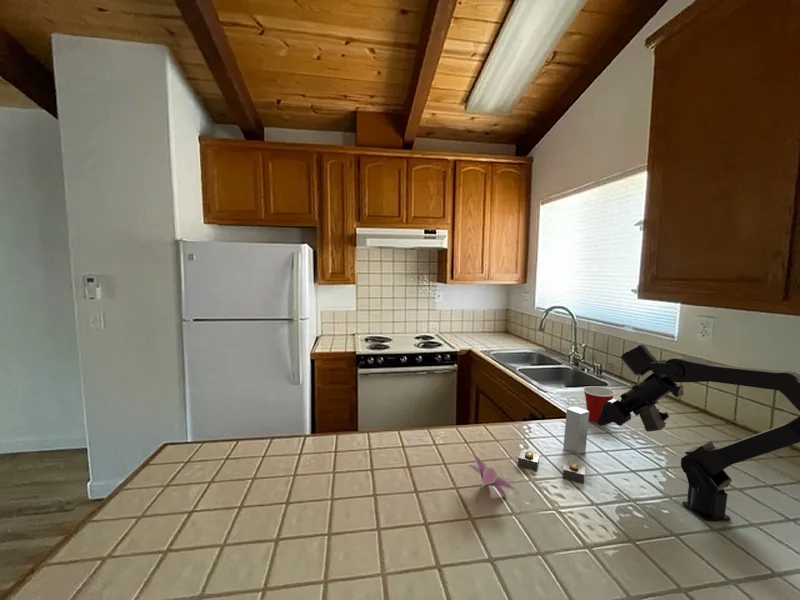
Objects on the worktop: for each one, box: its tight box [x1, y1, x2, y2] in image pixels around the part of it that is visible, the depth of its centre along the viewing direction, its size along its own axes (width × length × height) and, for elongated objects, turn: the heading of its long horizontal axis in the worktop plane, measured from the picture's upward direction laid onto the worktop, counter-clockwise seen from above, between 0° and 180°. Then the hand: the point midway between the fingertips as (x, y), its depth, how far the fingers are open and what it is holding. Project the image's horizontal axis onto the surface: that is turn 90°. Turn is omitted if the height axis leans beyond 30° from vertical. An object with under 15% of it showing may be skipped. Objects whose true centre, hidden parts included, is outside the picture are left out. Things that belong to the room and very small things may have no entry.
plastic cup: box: [582, 385, 616, 424], centre depth 141 cm, size 11×11×12 cm
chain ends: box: [517, 450, 586, 485], centre depth 102 cm, size 16×5×3 cm, turn 63°
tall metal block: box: [562, 406, 590, 457], centre depth 115 cm, size 4×4×13 cm
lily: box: [468, 452, 516, 503], centre depth 89 cm, size 12×12×10 cm
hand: (606, 420), depth 107 cm, fingers open, 9 cm apart
